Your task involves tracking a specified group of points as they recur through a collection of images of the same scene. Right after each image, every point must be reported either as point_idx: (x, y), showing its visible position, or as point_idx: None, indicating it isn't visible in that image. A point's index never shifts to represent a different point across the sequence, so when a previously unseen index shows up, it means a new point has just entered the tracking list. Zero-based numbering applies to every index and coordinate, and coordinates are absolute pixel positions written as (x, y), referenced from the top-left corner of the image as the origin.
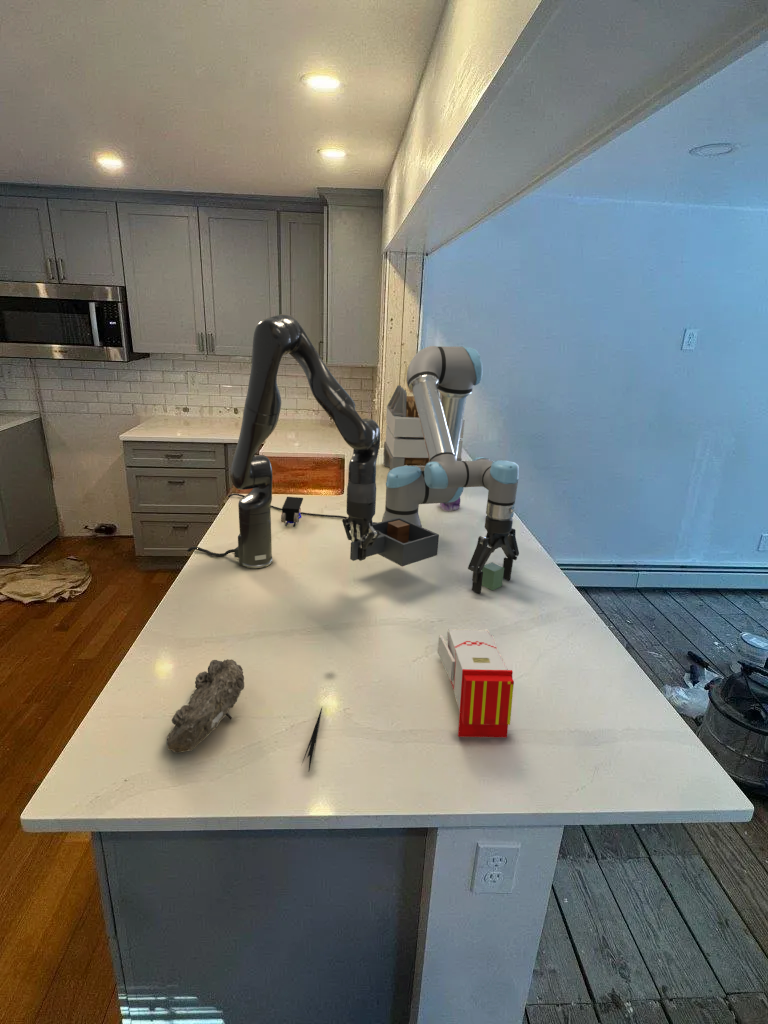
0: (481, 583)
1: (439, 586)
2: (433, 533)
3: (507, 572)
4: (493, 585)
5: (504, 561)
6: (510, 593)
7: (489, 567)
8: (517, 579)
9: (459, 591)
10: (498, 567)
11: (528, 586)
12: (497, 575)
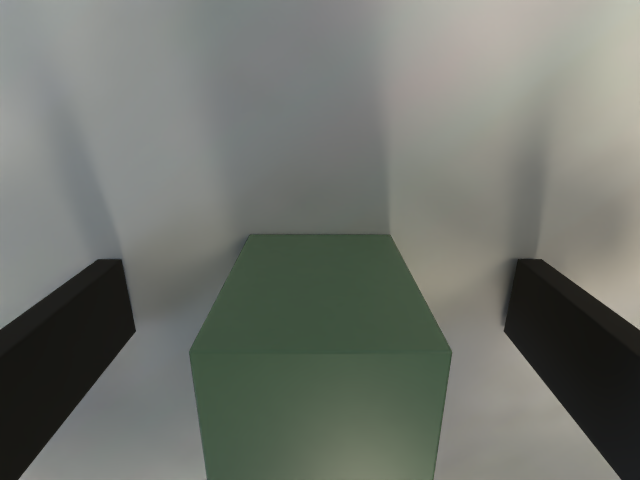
0: (587, 307)
1: None
2: None
3: (82, 323)
4: (389, 252)
5: (11, 468)
6: (294, 92)
7: (383, 465)
8: (15, 236)
9: None
10: (271, 402)
11: (7, 74)
12: (348, 302)
